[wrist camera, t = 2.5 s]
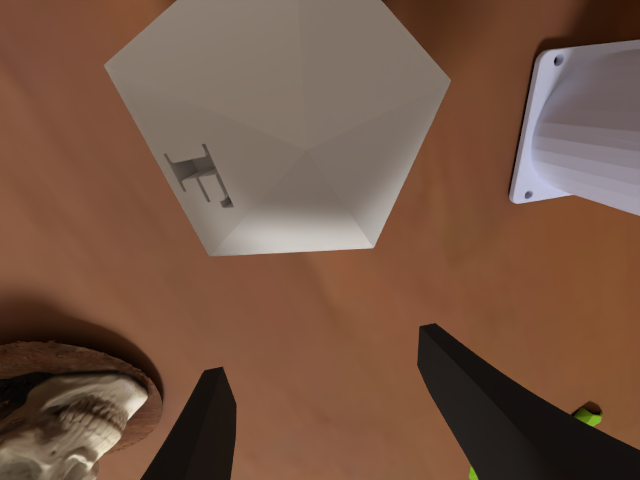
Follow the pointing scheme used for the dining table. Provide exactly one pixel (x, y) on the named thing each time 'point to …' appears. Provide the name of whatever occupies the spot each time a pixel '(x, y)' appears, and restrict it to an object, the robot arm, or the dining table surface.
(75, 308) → the dining table surface
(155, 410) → the skull
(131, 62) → the die
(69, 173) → the dining table surface
